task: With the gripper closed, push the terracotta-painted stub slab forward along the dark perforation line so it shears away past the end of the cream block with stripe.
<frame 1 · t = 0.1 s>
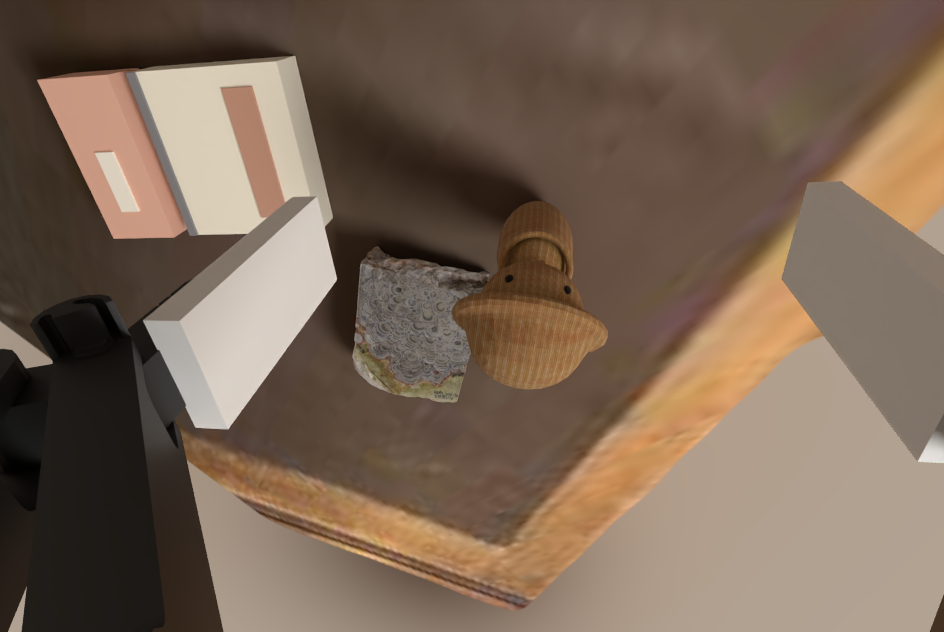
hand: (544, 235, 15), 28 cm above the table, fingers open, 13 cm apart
cream block with stripe: (248, 146, 44), on the table
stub: (124, 158, 44), point 2 cm above the table, slide at 0.0 cm
geological specimen: (424, 313, 51), on the table
figurine: (537, 217, 44), on the table
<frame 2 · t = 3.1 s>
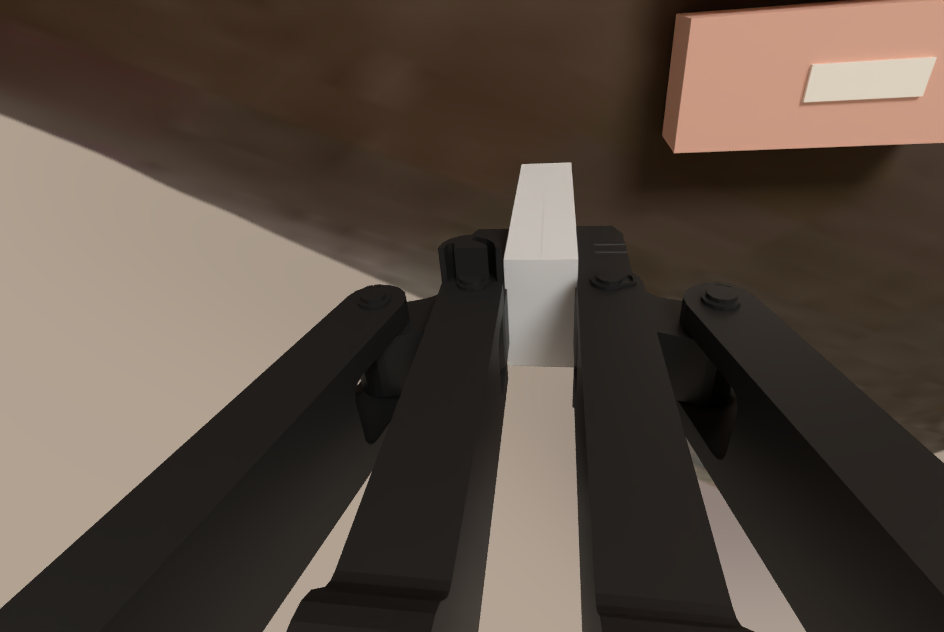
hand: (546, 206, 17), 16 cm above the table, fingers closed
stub: (815, 76, 25), point 2 cm above the table, slide at 0.0 cm
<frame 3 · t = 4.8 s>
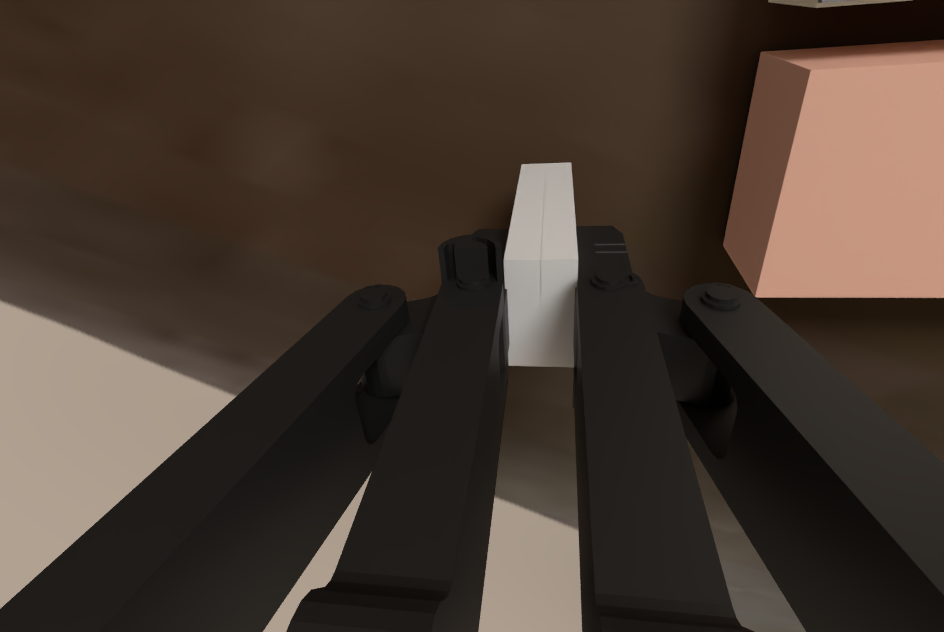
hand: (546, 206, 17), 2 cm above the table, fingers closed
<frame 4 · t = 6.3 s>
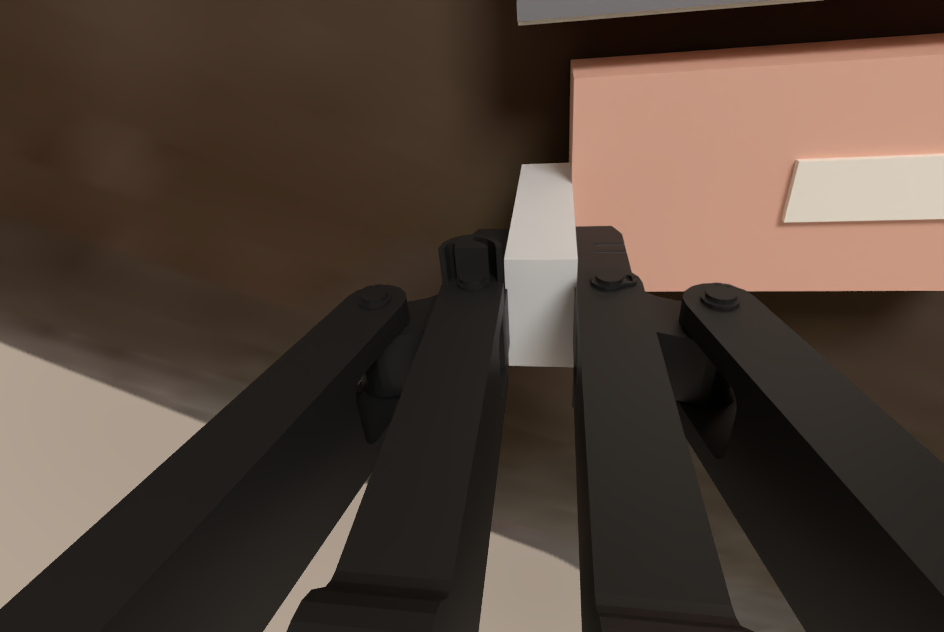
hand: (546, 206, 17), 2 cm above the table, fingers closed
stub: (805, 169, 15), point 2 cm above the table, slide at 1.4 cm, touching gripper
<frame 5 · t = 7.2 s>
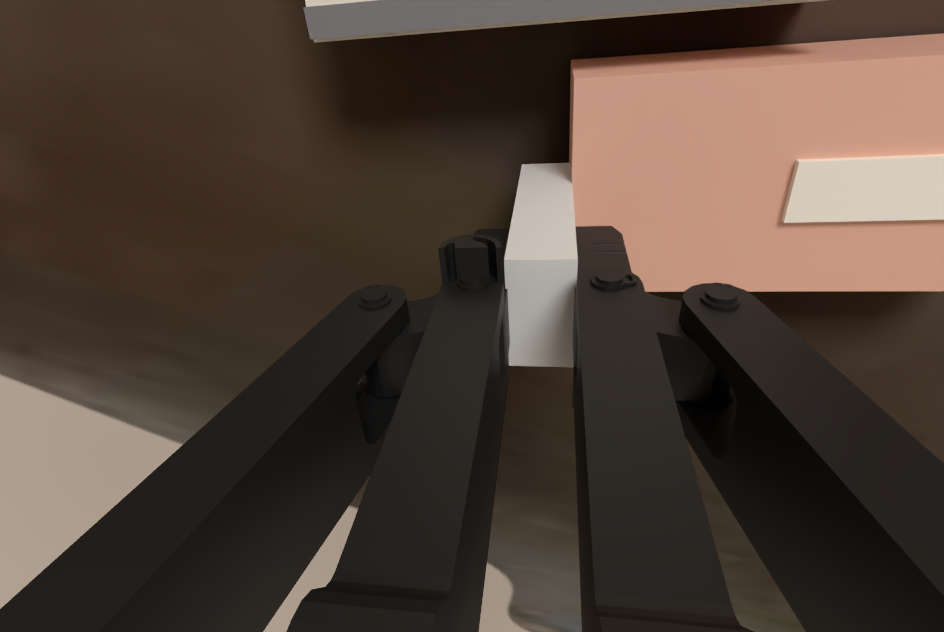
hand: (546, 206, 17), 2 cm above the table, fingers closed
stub: (805, 169, 15), point 2 cm above the table, slide at 6.7 cm, touching gripper
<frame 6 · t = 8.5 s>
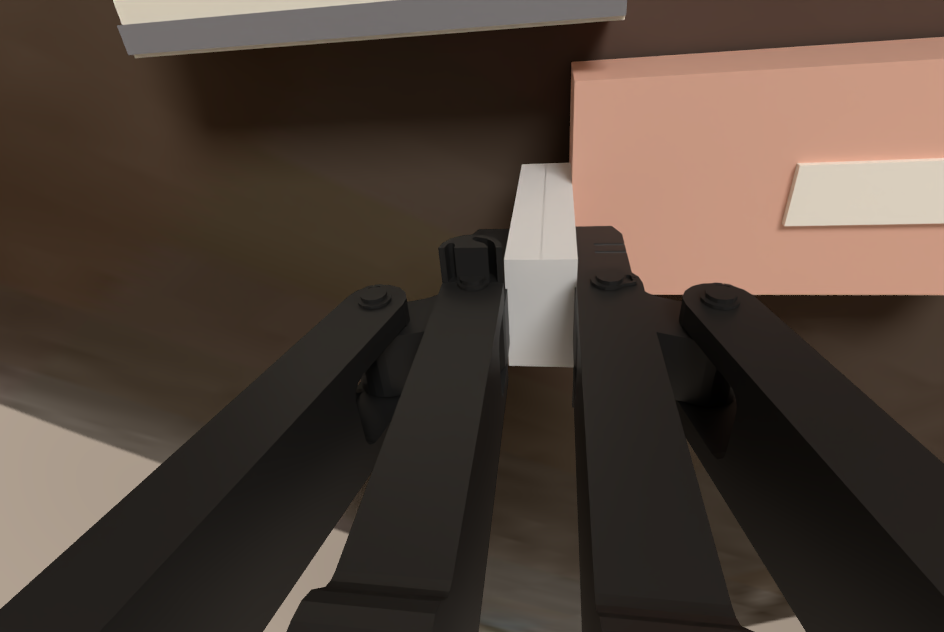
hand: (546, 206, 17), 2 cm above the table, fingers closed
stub: (805, 172, 15), point 2 cm above the table, slide at 11.9 cm, touching gripper
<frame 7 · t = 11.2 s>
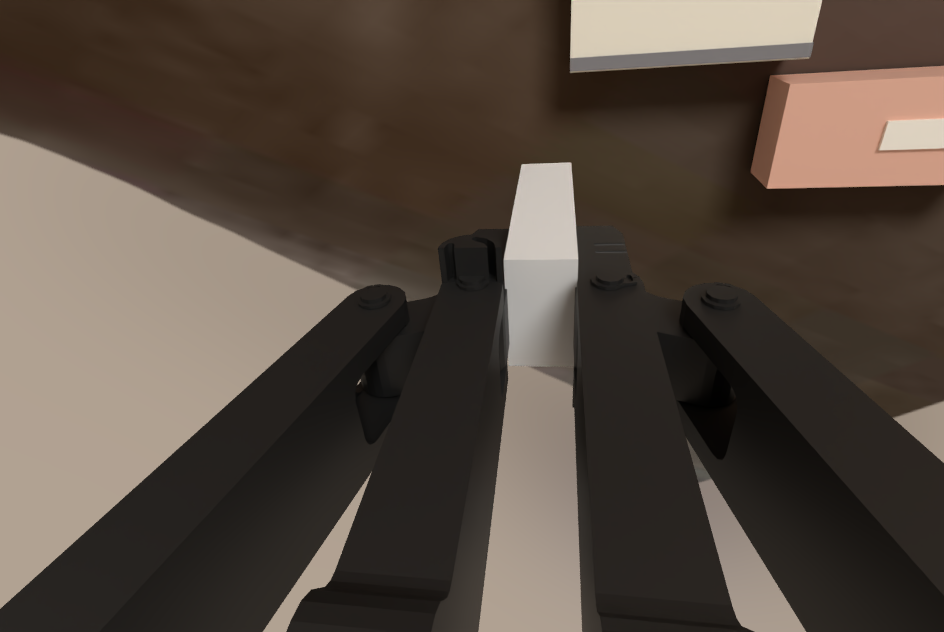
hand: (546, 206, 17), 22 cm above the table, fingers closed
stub: (887, 128, 31), point 2 cm above the table, slide at 12.2 cm
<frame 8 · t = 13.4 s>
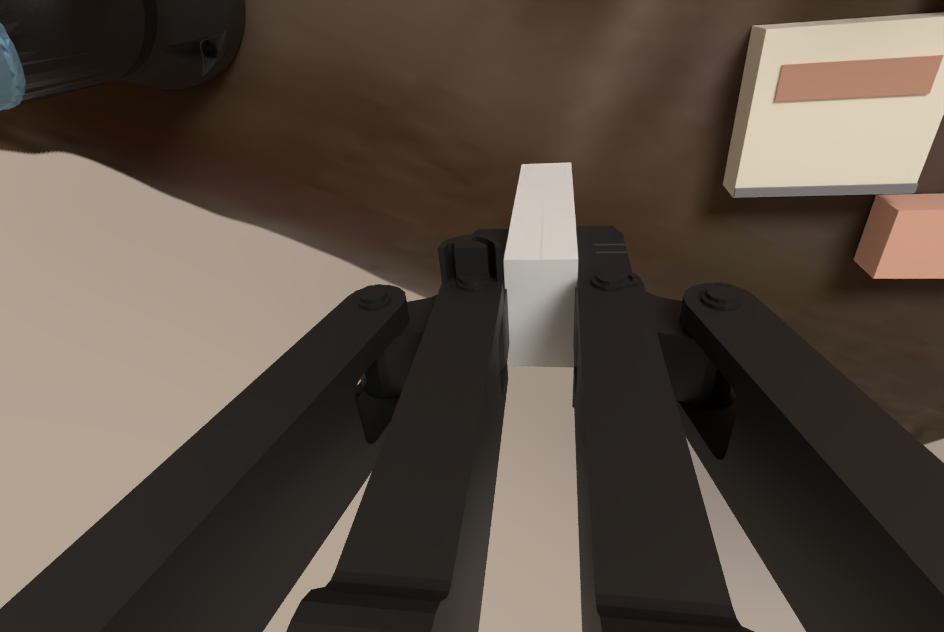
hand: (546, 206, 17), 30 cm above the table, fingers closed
cream block with stripe: (825, 106, 41), on the table
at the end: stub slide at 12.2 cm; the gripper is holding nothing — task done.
